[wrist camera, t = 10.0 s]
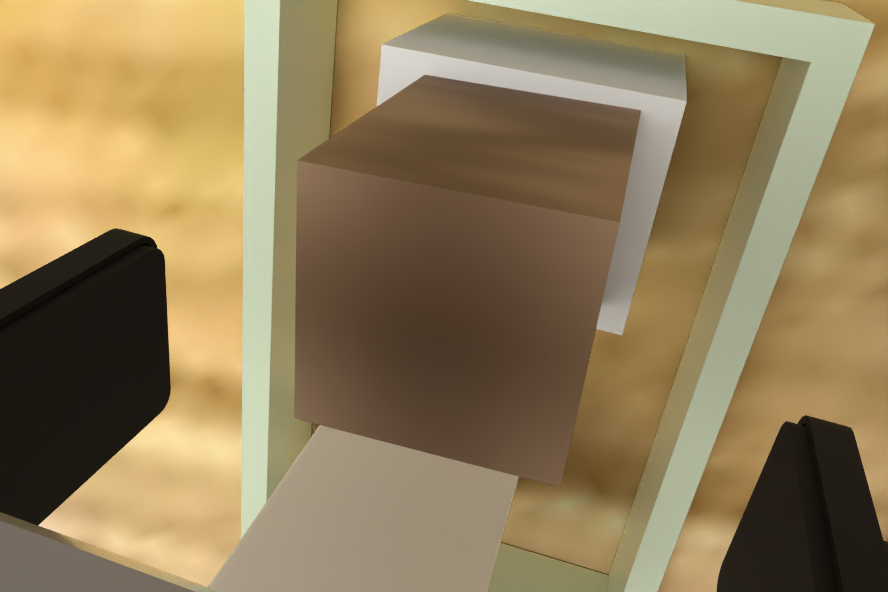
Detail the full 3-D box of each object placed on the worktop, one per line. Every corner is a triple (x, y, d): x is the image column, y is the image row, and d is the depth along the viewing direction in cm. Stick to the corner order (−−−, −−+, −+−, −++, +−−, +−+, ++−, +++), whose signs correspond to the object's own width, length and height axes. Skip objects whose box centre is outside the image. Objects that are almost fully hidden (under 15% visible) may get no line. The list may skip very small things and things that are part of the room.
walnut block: (640, 109, 17) (620, 222, 11) (597, 306, 20) (560, 487, 13) (424, 74, 18) (296, 160, 12) (408, 266, 20) (294, 418, 14)
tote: (842, 3, 20) (875, 23, 17) (627, 600, 31) (621, 686, 28) (310, -86, 23) (245, -83, 19) (285, 495, 34) (241, 562, 30)
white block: (685, 54, 22) (686, 101, 17) (634, 245, 25) (621, 335, 20) (448, 12, 23) (381, 44, 18) (425, 199, 26) (363, 272, 21)
